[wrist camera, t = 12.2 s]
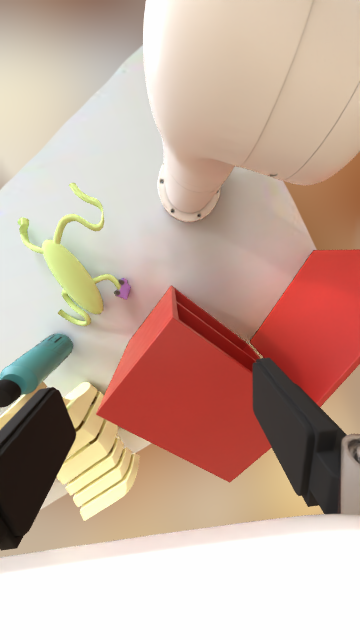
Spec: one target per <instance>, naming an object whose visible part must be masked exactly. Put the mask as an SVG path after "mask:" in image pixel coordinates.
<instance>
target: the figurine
mask: <svg viewBox="0 0 360 640" xmlns="http://www.w3.org/2000/svg"><path fill="white" fill-rule="evenodd" d="M69 186H70V188H71V189H72V191H73V192H74V193H75V194H76V195H77V196H78V197H79V198H81V199H82V200H84V201H85V202H87V203H90V204H93V205H94V206H96V207H98V208H99V209H100V210H101V212H102V218H101V221H100V222H99V224H91V223H89V222H87V221H86V220H84V219H83V218H81V217H80V216H78V215H75V214H70V215H66V216H64V217H62V218H61V220H60V221H59V223H58V225H57V228H56V231H55V234H54V239H53V240H45V241H44V243H43V244H42V248H41V247H37V246H35V245H33V244H32V243H30V241H29V239H28V234H27V229H28V226H29V220H28V219H26V218H24V217H23V218H20V219H19V220H18V224H19V225H20V228H19V230H20V234H21V239H22V241H23V243H24V244H25V245H26V246H27V247H28V248H29V249H31V250H32V251H35V252H37V253H41V254H43V255H44V257H45V260H46V262H47V264H48V267H49V269H50V270H51V272H52V273H53V275H54V277H55V278H56V280H57V281H58V283H59V284H60V285H61V286H62V288H63V290H62V296H63V298H64V299H65V301H66V302H67V303H68V305H69V306H70V307H71V308H72V309H73V310H74V311H76V312H77V313H79V314H80V315H82V316H83V317H84V319H85V321H80V320H77V319H75V318H73V317H71V316H69V315H68V314H66V313H65V312H64V311H63V310H60V311H59V312H58V314H59V315H61V316H62V317H63V318H65V319H66V320H68V321H70V322H72V323H74V324H76V325H80V326H87V325H89V324H90V323H91V319H90V317H89V315H88V314H87V313H86V312H85V311H83V310H82V309H80V308H79V307H78V306H77V305H75V303H74V302H73V301H72V300H71V299H70V297H71V298H72V299H73V300H74V301H75V302H76V303H77V304H79V305H80V306H81V307H83V308H84V309H85V310H87V311H89V312H91V313H93V314H101V312H102V311H103V301H102V298H101V295H100V292H99V290H98V288H97V287H96V285H95V284H96V283H98V282H100V281H102V280H107V279H108V280H110V281H112V282H113V283H114V284H115V286H116V288H117V289H118V290H116V291H115V292H114V294H115V296H119V297H121V298H123V299H126V300H127V297H128V294H129V291H130V288H131V287H130V286H129V285H128V284H127V280H126V279H125V278H122V279H121V280H119V281H118V280H117V279H116V278H115V277H114V276H112V275H110V274H104V275H101V276H98V277H96V278H93V279H92V278H91V276H90V275H89V274H88V272H87V271H86V269H85V268H84V267H83V265H82V264H81V263H80V262H79V261H78V260H77V259H76V258H75V256H74V255H73V254H72V253H70V252H69V251H68V250H67V249H66V248H65V247H63V246H62V245H61V244H60V241H61V237H62V233H63V230H64V228H65V226H66V224H67V223H68V222H71V221H77V222H79V223H81V224H83V225H84V226H86V227H87V228H89V229H91V230H93V231H100V230H101V229H102V228H103V225H104V216H103V208H102V205H101V203H100V202H99V201H98V200H97V199H95V198H92V197H89V196H88V195H86V194H84V193H83V192H81V191H80V189H79V188H78V187H77V185H76V184H75V183H71V184H69ZM68 295H69V296H70V297H69V296H68Z"/></svg>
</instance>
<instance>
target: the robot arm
mask: <svg viewBox="0 0 360 640" xmlns="http://www.w3.org/2000/svg"><path fill="white" fill-rule="evenodd" d="M143 58H144V70H145V78H146V85H147V92H148V97H149V102H150V106H151V110H152V113H153V117H154V120H155V122H156V125H157V128H158V130H159V133H160V135H161V137H162V139H163V152H164V163H163V165H162V167H161V169H160V173H159V177H158V193H159V197H160V200H161V202H162V205H163V207H164V208H165V209H166V211H167V212H168V213H169V214H170V215H171V216H172V217H174V218H176V219H177V220H180V221H183V222H195V221H198V220H200V219H202V218H204V217H205V216H207V215H208V214H209V213H210V212H211V211H212V210H213V208H214V207H215V205H216V203H217V201H218V199H219V196H220V191H221V185H222V184H223V183H224V181H225V180H226V179H227V177H228V176H229V174H230V173H231V172H232V170H233V168H234V166H237V167H242V168H245V169H249V170H252V171H255V172H258V173H261V174H264V175H267V176H270V177H273V178H276V179H279V180H283V181H286V182H289V183H294V184H298V185H312V184H317V183H319V182H322V181H324V180H326V179H328V178H330V177H331V176H333V175H334V174H336V173H337V172H338V171H339V170H341V169H342V168H343V167H344V166H345V165H346V164H348V163H349V162H350V161H351V160H352V159H353V158H354V157H355V156H356V155H357V154H358V153H359V152H360V0H146V6H145V15H144V30H143ZM161 182H163V184H161ZM216 192H217V193H216ZM172 210H173V211H174V213H172ZM198 215H200V217H198ZM253 411H254V414H255V416H256V418H257V420H258V422H259V424H260V426H261V428H262V430H263V432H264V433H265V435H266V437H267V439H268V441H269V443H270V445H271V447H272V449H273V451H274V453H275V454H276V456H277V458H278V460H279V462H280V464H281V466H282V468H283V470H284V471H285V473H286V475H287V477H288V479H289V481H290V483H291V485H292V487H293V489H294V491H295V492H296V494H297V495H298V496H302V497H303V498H304V500H305V502H306V504H307V506H308V507H310V506H317V505H319V506H320V507H321V509H322V511H323V513H324V514H322V515H305V516H297V517H287V518H279V519H270V520H261V521H252V522H245V523H238V524H230V525H223V526H215V527H208V528H201V529H193V530H186V531H179V532H171V533H165V534H157V535H150V536H143V537H136V538H129V539H122V540H115V541H108V542H101V543H94V544H87V545H80V546H74V547H66V548H59V549H53V550H46V551H40V552H33V553H26V554H19V555H12V556H6V557H0V640H360V434H350V435H346V434H345V433H344V432H343V431H342V430H341V429H340V428H339V426H338V425H337V424H336V423H335V422H334V421H333V420H332V419H331V418H330V417H329V416H328V415H327V414H326V413H325V412H324V411H323V410H322V409H321V408H320V407H319V406H318V405H317V404H316V403H315V402H314V401H313V400H312V399H311V398H310V397H309V396H308V395H307V394H306V393H305V392H304V390H303V389H302V388H301V387H300V386H298V385H297V384H295V383H293V382H292V380H291V379H290V378H289V377H288V376H287V375H286V374H285V373H284V372H283V371H282V370H281V369H280V368H279V367H278V366H277V365H276V364H275V363H274V362H273V361H272V360H271V359H270V358H262V359H257V360H256V362H255V363H253ZM75 439H76V430H75V428H74V426H73V423H72V421H71V418H70V416H69V413H68V411H67V408H66V406H65V403H64V401H63V398H62V396H61V394H60V391H59V390H56V389H55V388H54V387H51V388H44V389H39V390H38V391H37V392H36V393H35V394H34V395H33V396H32V397H31V398H30V399H29V400H28V401H27V402H26V403H25V404H24V406H23V407H22V408H21V409H20V410H19V411H18V412H17V413H16V414H15V415H14V416H13V417H12V418H11V419H10V420H9V421H8V422H7V423H6V424H5V425H4V426H3V427H2V428H1V430H0V549H1V550H8V549H15V548H17V547H18V545H19V543H20V542H21V540H22V538H23V536H24V535H25V534H26V533H27V532H28V531H29V530H30V528H31V526H32V524H33V522H34V520H35V518H36V516H37V514H38V512H39V510H40V508H41V506H42V504H43V502H44V500H45V498H46V496H47V494H48V492H49V490H50V488H51V487H52V485H53V483H54V481H55V479H56V477H57V475H58V473H59V471H60V469H61V467H62V465H63V463H64V461H65V459H66V457H67V455H68V453H69V451H70V449H71V447H72V445H73V443H74V441H75Z"/></svg>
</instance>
